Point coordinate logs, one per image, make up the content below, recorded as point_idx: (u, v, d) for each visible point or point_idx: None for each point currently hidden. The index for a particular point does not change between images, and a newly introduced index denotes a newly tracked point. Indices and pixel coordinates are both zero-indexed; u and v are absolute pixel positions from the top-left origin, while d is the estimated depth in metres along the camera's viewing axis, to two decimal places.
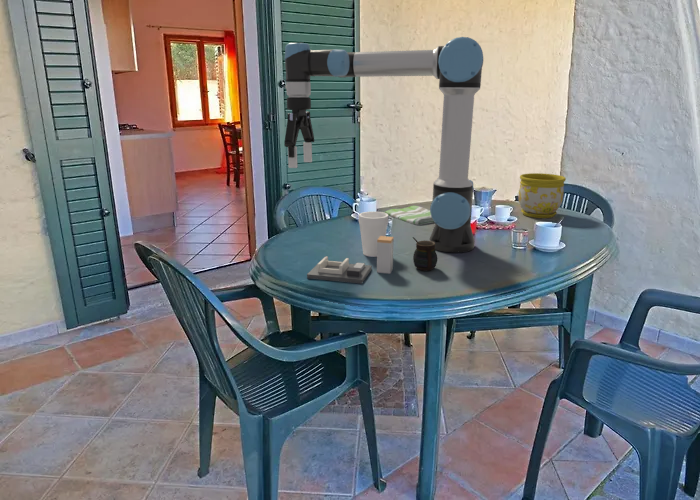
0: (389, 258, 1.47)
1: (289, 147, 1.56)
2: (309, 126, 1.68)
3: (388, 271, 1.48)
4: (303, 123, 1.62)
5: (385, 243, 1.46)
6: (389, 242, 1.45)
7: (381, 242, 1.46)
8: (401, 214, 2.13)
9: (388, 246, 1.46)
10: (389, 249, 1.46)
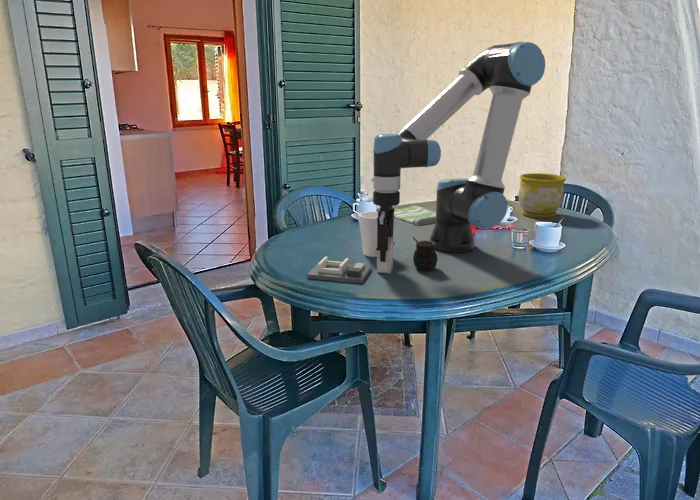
0: (389, 258, 1.47)
1: (381, 251, 1.45)
2: (391, 224, 1.51)
3: (388, 271, 1.48)
4: None
5: None
6: (389, 242, 1.45)
7: None
8: (401, 214, 2.13)
9: (388, 246, 1.46)
10: (389, 249, 1.46)
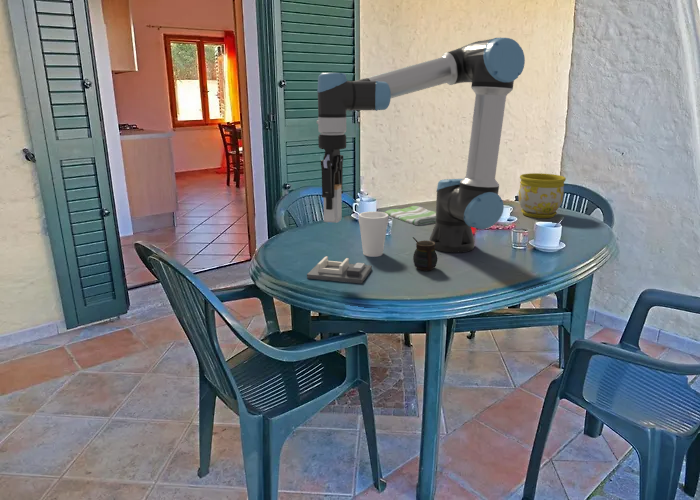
0: (336, 206, 1.40)
1: (327, 198, 1.38)
2: (340, 172, 1.44)
3: (335, 220, 1.41)
4: (337, 164, 1.39)
5: None
6: (335, 189, 1.39)
7: None
8: (401, 214, 2.13)
9: (334, 193, 1.39)
10: (336, 196, 1.39)
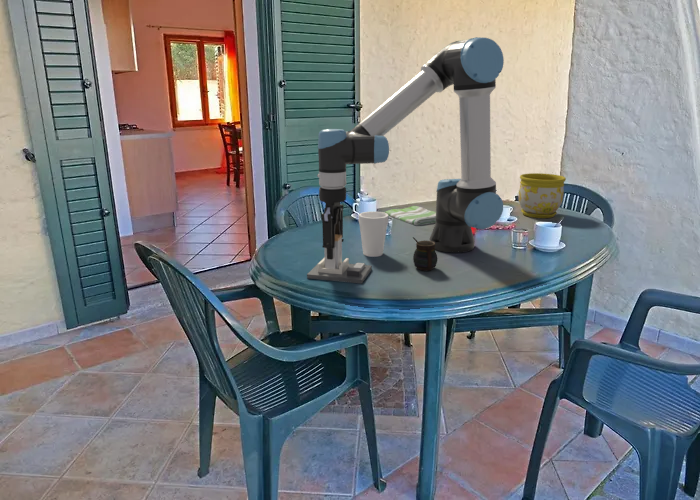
0: (336, 256, 1.44)
1: (328, 249, 1.42)
2: (340, 221, 1.48)
3: None
4: None
5: None
6: (336, 240, 1.43)
7: None
8: (401, 214, 2.13)
9: (335, 244, 1.44)
10: (336, 247, 1.44)
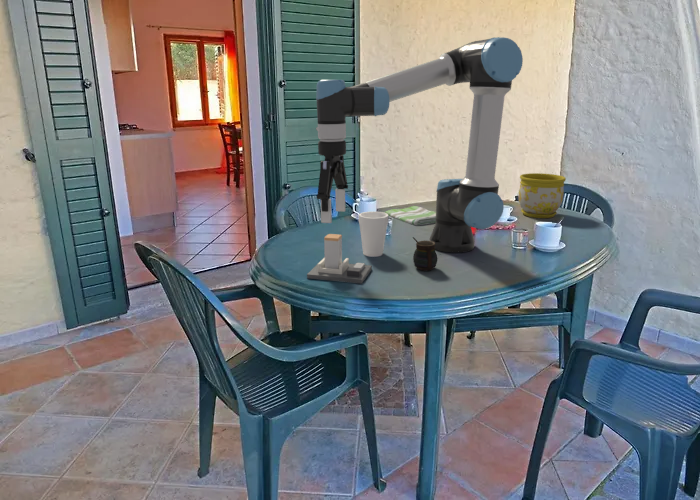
0: (336, 256, 1.44)
1: (322, 200, 1.34)
2: (342, 171, 1.46)
3: None
4: (337, 170, 1.40)
5: (332, 241, 1.43)
6: (336, 240, 1.43)
7: (328, 239, 1.44)
8: (401, 214, 2.12)
9: (335, 244, 1.44)
10: (336, 247, 1.44)
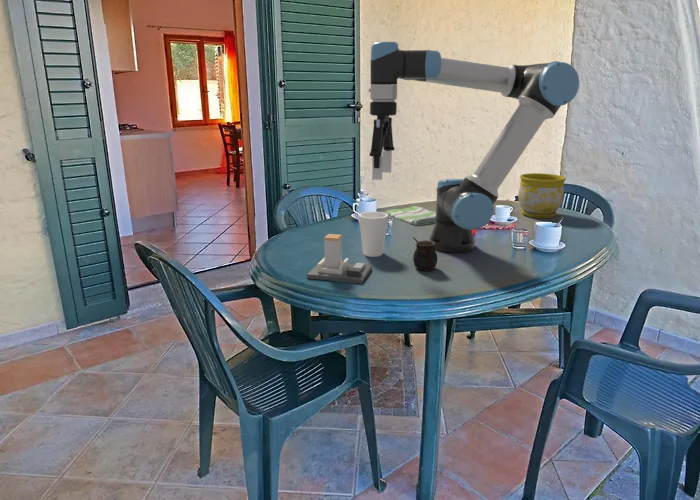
0: (336, 256, 1.44)
1: (375, 157, 1.41)
2: None
3: None
4: None
5: (332, 241, 1.43)
6: (336, 240, 1.43)
7: (328, 239, 1.44)
8: (401, 214, 2.12)
9: (335, 244, 1.44)
10: (336, 247, 1.44)
